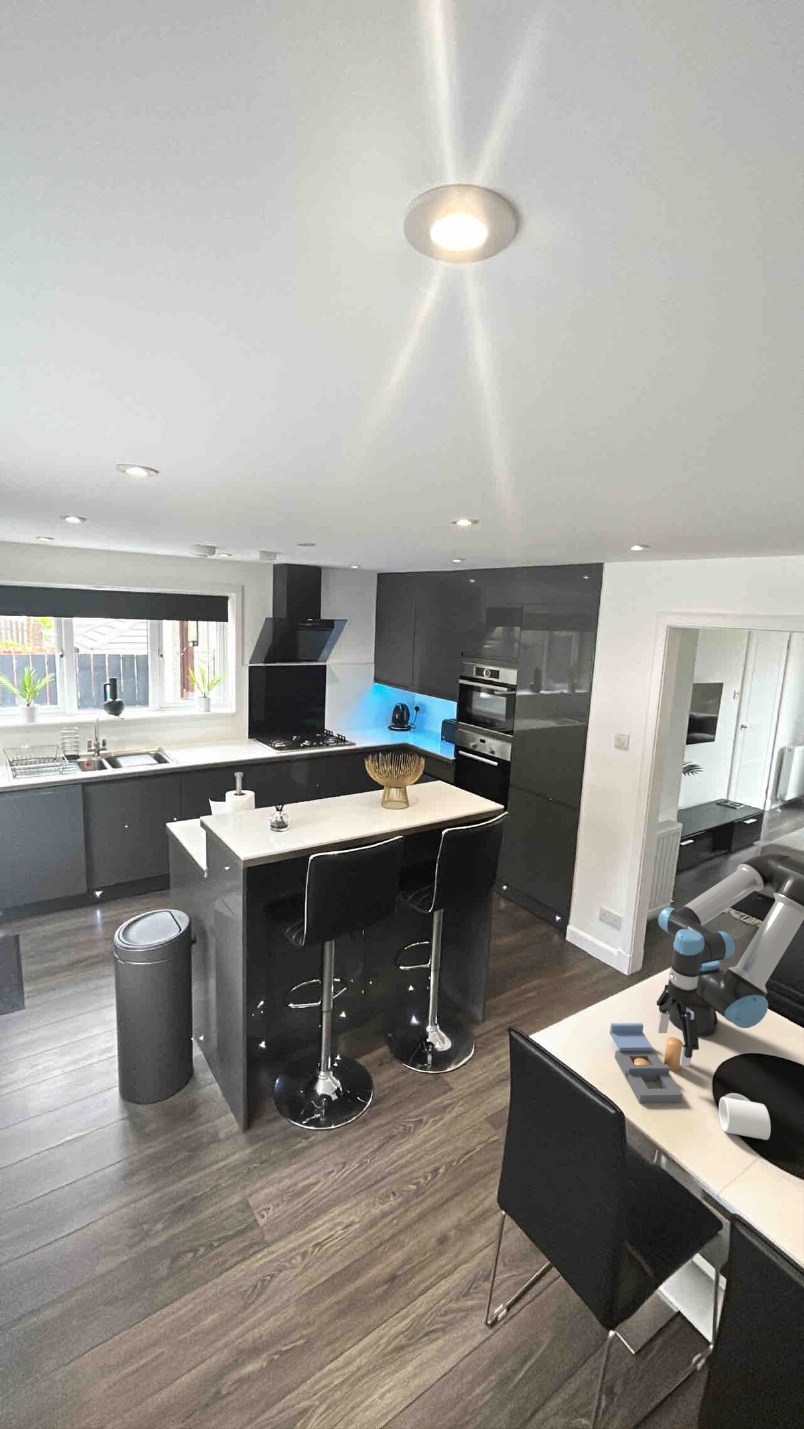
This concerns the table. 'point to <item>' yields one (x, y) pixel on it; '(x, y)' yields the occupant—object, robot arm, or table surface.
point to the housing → (648, 1076)
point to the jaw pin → (673, 1053)
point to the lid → (629, 1037)
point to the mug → (744, 1117)
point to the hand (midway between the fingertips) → (672, 1048)
